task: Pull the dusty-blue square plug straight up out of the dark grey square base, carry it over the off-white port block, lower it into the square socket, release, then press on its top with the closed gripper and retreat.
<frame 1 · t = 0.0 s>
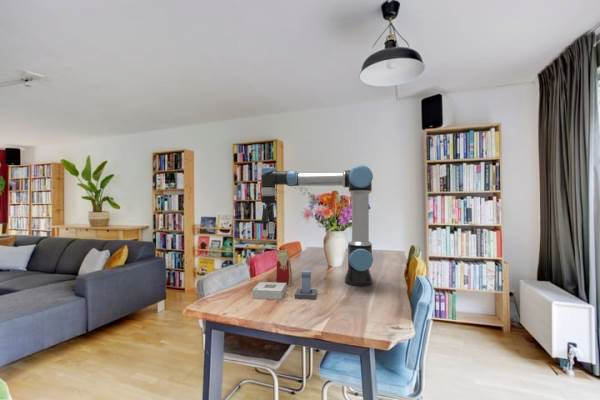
hand: (268, 234, 160), 28 cm above the table, fingers open, 13 cm apart
dark grey square base: (306, 295, 143), on the table
port: (270, 294, 146), on the table
plug: (306, 283, 143), in the dark grey square base
milk carton: (283, 284, 164), on the table
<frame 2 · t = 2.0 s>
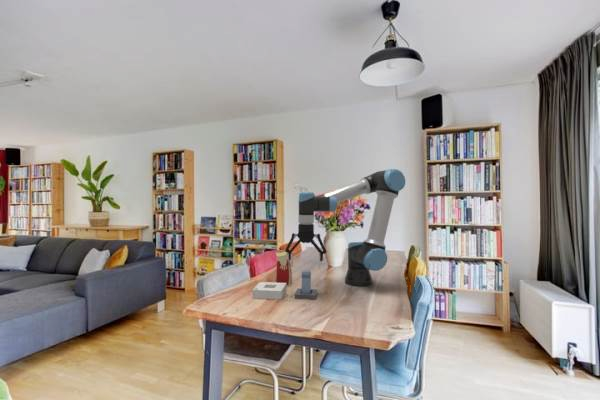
hand: (305, 267, 143), 14 cm above the table, fingers open, 13 cm apart
nothing on the table moved.
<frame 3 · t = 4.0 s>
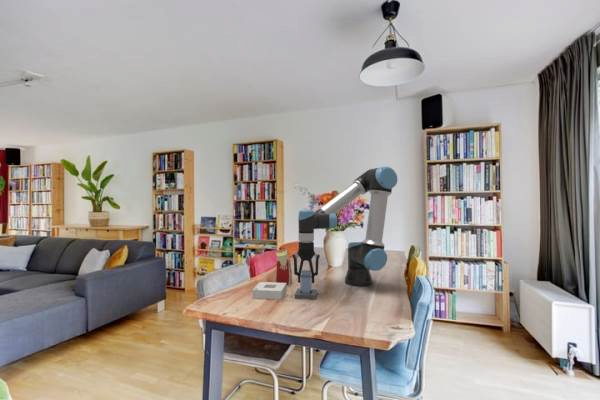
hand: (306, 289, 143), 3 cm above the table, fingers closed on plug, 4 cm apart
plug: (306, 283, 143), in the dark grey square base, touching gripper
everything else where it was.
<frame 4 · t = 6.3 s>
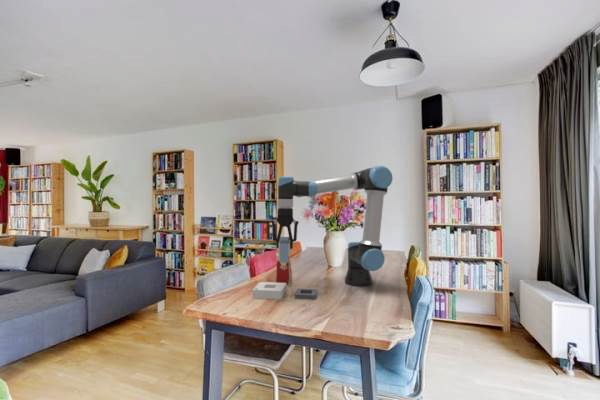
hand: (284, 255, 144), 20 cm above the table, fingers closed on plug, 4 cm apart
plug: (284, 249, 144), point 22 cm above the table, touching gripper
everything else where it was.
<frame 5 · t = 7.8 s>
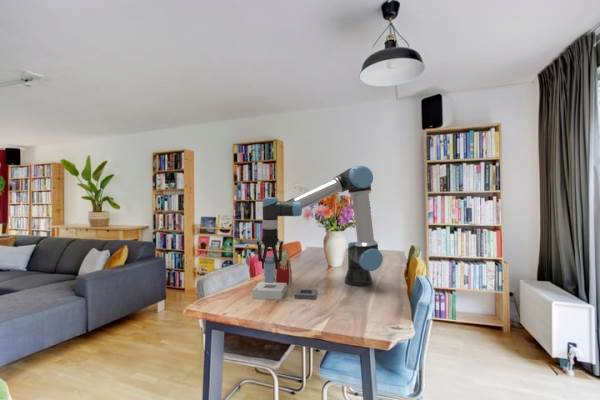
hand: (270, 275, 146), 9 cm above the table, fingers closed on plug, 4 cm apart
plug: (270, 269, 146), point 12 cm above the table, touching gripper
everything else where it was.
when the fingers open (5 cm above the table, at t = 8.8 s): plug drops 2 cm, resting in port.
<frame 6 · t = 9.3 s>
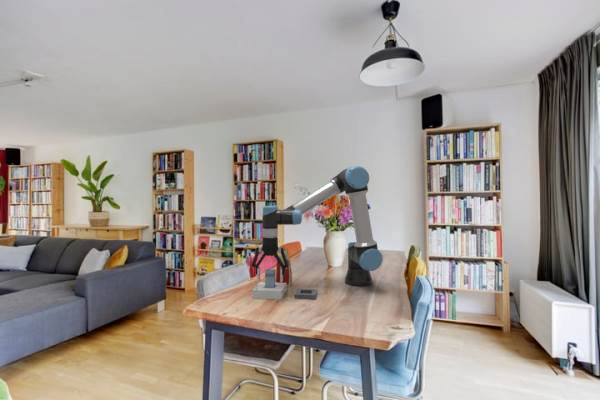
hand: (270, 281, 146), 6 cm above the table, fingers open, 11 cm apart
plug: (270, 282, 146), in the port
everything else where it was.
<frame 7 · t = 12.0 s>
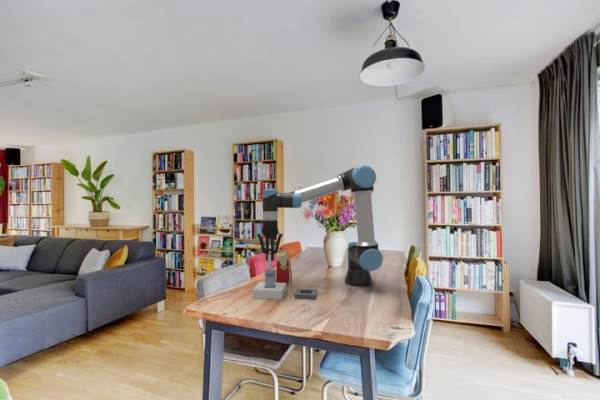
hand: (269, 267, 146), 13 cm above the table, fingers closed
nothing on the table moved.
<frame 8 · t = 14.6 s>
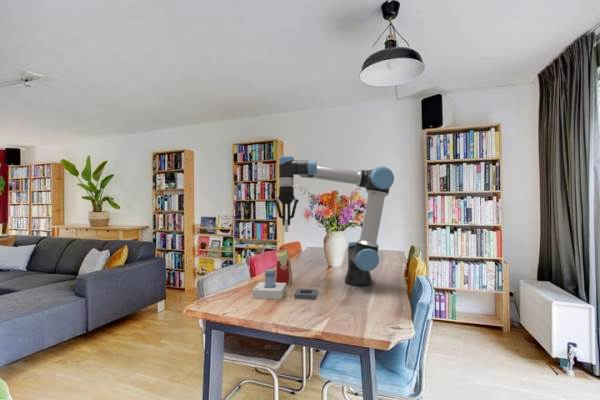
hand: (286, 231, 152), 30 cm above the table, fingers closed
nothing on the table moved.
at the end: plug 0.0 cm off-centre on the port, point 6.0 cm above the port's base; plug tilted 0°; the gripper is holding nothing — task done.
